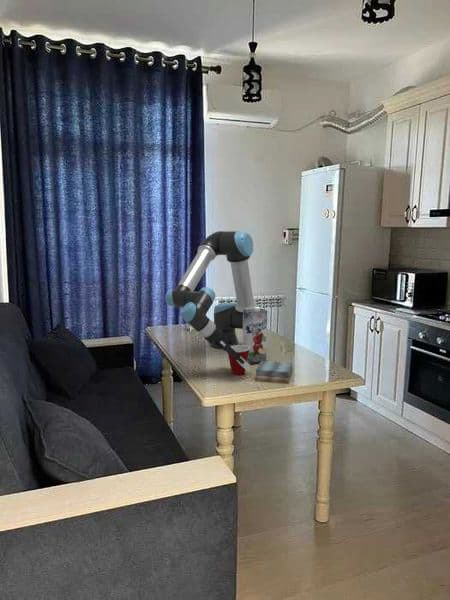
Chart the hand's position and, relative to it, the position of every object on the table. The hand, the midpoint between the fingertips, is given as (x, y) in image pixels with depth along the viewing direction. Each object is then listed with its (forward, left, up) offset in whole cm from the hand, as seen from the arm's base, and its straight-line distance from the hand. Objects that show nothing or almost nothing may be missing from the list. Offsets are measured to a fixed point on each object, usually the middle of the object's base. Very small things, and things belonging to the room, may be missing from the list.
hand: (242, 362), depth 204 cm
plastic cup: (-2, -1, -5) cm, 5 cm away
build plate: (+14, +1, -5) cm, 15 cm away
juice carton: (+2, +19, -5) cm, 20 cm away
